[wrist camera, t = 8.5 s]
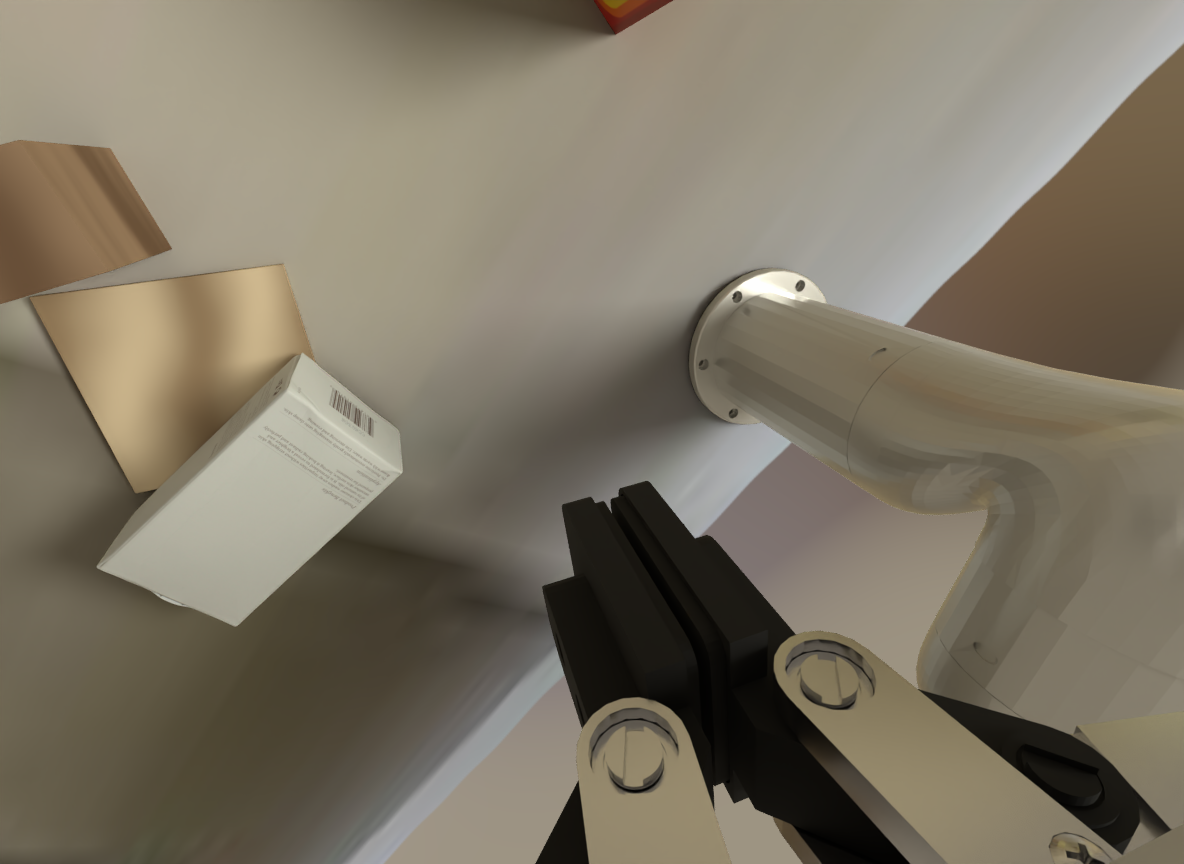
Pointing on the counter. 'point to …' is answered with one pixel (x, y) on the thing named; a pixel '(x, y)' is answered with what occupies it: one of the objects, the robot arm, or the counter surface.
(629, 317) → the counter surface
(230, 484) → the skincare box
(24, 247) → the walnut block
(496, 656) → the counter surface
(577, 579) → the robot arm
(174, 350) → the brass plate
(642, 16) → the baking soda box
